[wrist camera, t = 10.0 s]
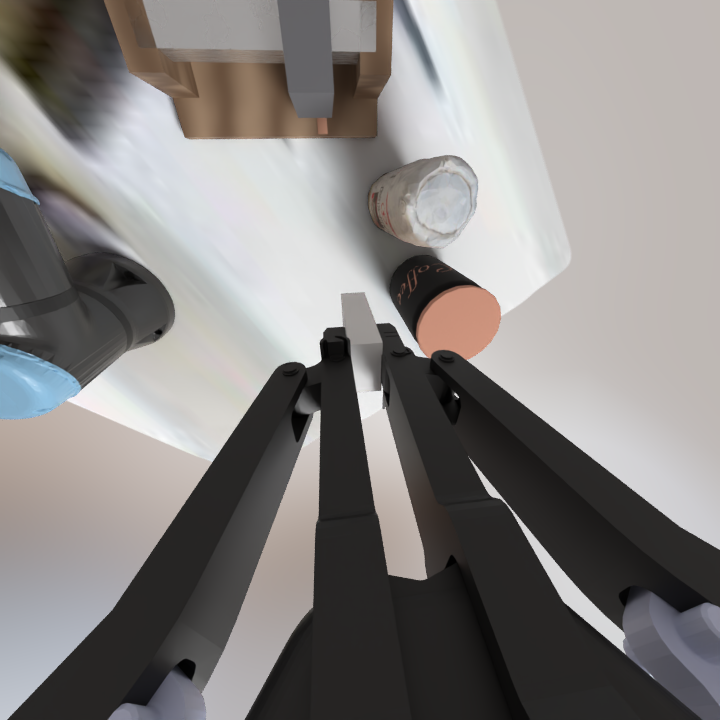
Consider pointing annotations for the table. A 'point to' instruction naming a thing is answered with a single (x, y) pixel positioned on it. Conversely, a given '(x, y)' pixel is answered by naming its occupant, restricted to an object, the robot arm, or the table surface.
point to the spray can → (425, 201)
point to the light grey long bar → (247, 30)
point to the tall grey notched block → (308, 56)
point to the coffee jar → (444, 307)
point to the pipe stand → (256, 86)
